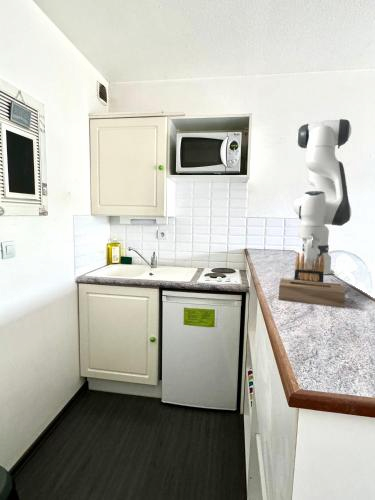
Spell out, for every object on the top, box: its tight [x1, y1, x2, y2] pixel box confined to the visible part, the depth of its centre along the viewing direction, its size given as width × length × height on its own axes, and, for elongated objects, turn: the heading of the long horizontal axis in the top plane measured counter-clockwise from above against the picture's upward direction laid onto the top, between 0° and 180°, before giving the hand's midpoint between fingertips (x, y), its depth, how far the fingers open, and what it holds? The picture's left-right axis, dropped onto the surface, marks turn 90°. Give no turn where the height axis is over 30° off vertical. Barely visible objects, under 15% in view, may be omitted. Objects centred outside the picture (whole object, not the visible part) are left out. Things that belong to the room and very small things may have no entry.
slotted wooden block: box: [278, 278, 346, 308], centre depth 97 cm, size 11×20×5 cm, turn 69°
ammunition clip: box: [293, 251, 325, 282], centre depth 109 cm, size 11×2×12 cm, turn 67°
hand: (309, 268), depth 109 cm, fingers closed on ammunition clip, 1 cm apart
